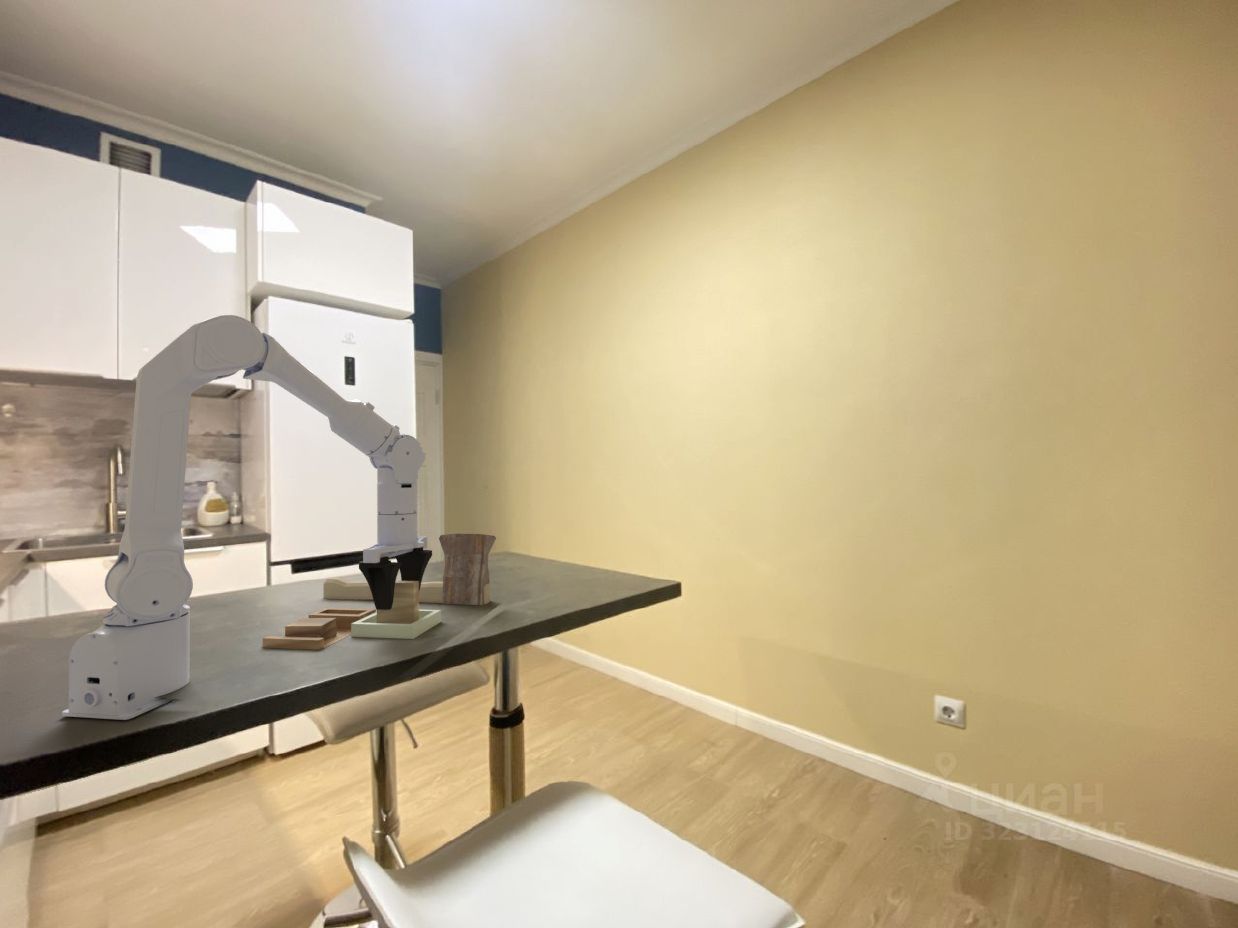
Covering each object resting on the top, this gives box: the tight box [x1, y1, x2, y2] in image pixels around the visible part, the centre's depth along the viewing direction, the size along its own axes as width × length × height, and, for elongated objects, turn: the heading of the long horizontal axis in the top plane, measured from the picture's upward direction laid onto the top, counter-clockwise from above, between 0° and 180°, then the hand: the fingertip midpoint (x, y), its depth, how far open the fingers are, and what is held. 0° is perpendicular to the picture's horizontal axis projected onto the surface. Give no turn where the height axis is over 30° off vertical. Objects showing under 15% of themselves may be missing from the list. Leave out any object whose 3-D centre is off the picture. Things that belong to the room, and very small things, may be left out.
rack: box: [261, 607, 377, 650], centre depth 79 cm, size 14×9×3 cm, turn 173°
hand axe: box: [322, 533, 497, 606], centre depth 99 cm, size 35×3×14 cm, turn 80°
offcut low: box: [284, 627, 337, 641], centre depth 76 cm, size 4×5×1 cm
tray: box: [350, 608, 442, 640], centre depth 81 cm, size 9×10×3 cm
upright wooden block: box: [376, 580, 420, 624], centre depth 81 cm, size 2×6×8 cm, turn 83°
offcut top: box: [284, 617, 336, 636], centre depth 76 cm, size 4×5×1 cm
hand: (398, 602), depth 81 cm, fingers open, 7 cm apart
